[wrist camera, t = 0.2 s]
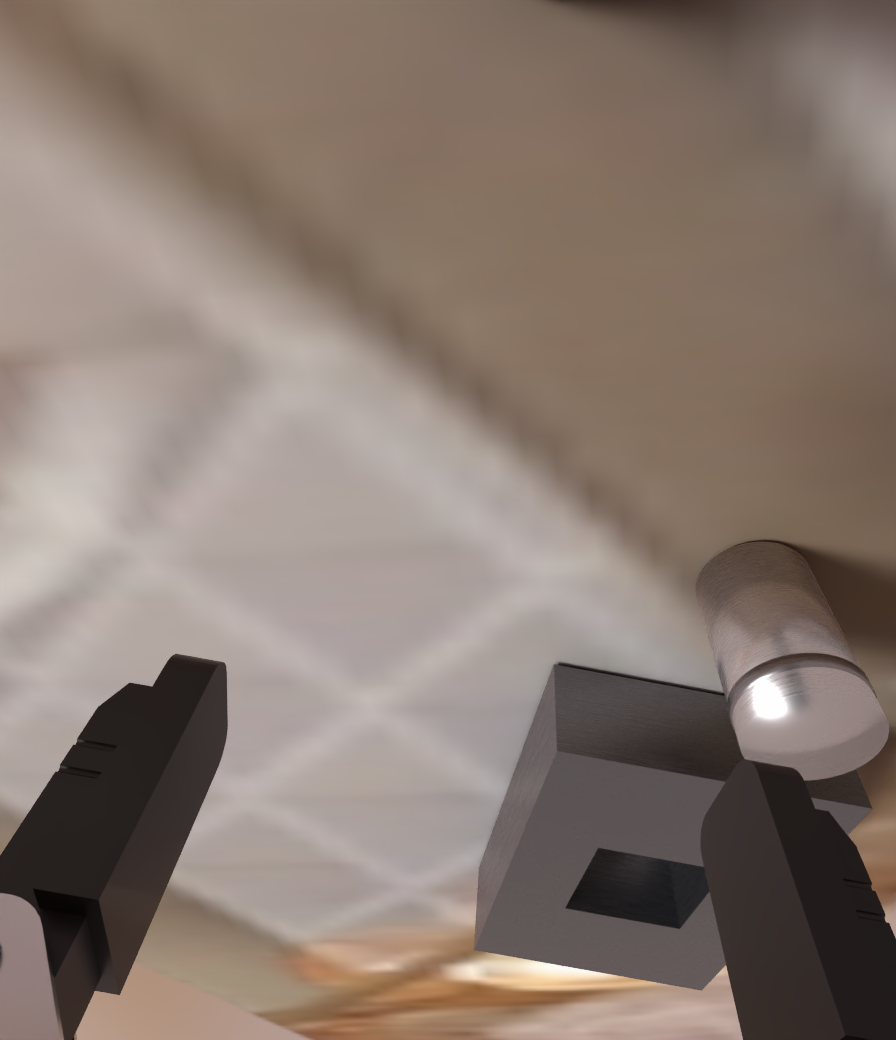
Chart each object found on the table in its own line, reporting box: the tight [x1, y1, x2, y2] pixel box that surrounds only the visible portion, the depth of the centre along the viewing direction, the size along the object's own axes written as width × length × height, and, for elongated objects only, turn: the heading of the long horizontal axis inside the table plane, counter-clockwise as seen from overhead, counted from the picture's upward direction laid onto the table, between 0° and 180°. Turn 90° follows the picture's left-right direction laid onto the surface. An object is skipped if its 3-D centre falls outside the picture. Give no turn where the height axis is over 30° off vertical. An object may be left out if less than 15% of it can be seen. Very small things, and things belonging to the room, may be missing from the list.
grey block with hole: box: [474, 665, 872, 990], centre depth 38 cm, size 20×14×5 cm
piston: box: [696, 542, 889, 781], centre depth 27 cm, size 5×5×8 cm
